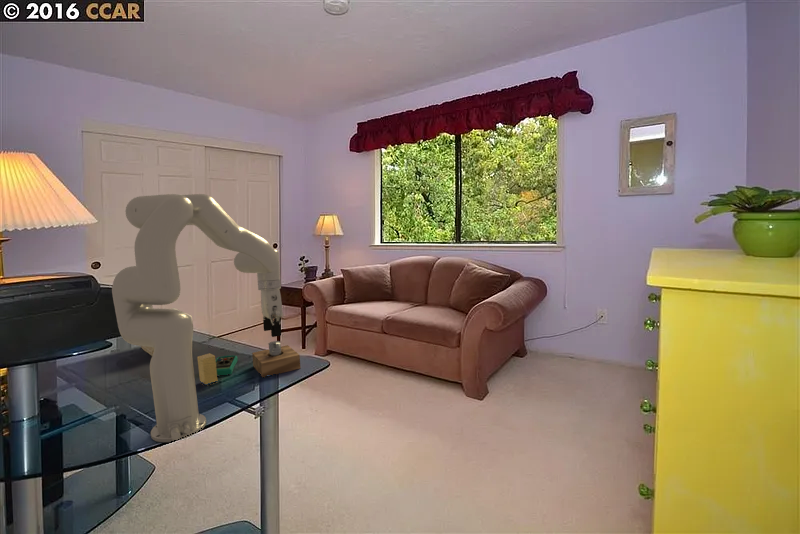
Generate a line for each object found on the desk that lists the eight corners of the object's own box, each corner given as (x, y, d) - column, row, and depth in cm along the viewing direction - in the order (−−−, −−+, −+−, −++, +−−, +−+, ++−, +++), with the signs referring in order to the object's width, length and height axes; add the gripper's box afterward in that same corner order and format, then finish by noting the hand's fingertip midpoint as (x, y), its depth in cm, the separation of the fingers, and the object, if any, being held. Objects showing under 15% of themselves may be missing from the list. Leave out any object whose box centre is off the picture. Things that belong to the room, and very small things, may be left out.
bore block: (300, 368, 144) (299, 354, 143) (262, 377, 137) (261, 363, 136) (288, 357, 155) (287, 345, 154) (253, 366, 148) (252, 352, 147)
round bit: (283, 367, 145) (281, 343, 144) (272, 370, 143) (270, 345, 142) (280, 364, 148) (278, 340, 147) (269, 366, 146) (267, 342, 145)
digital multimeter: (238, 361, 155) (237, 353, 154) (231, 376, 140) (230, 368, 140) (217, 363, 153) (216, 356, 153) (208, 379, 139) (207, 370, 138)
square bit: (217, 381, 135) (215, 355, 134) (205, 386, 132) (202, 359, 131) (212, 378, 138) (209, 353, 136) (200, 382, 135) (197, 356, 133)
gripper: (288, 286, 136) (290, 336, 138) (273, 281, 151) (275, 326, 152) (265, 288, 132) (268, 340, 134) (252, 283, 147) (255, 329, 148)
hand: (272, 333), depth 143 cm, fingers open, 9 cm apart
